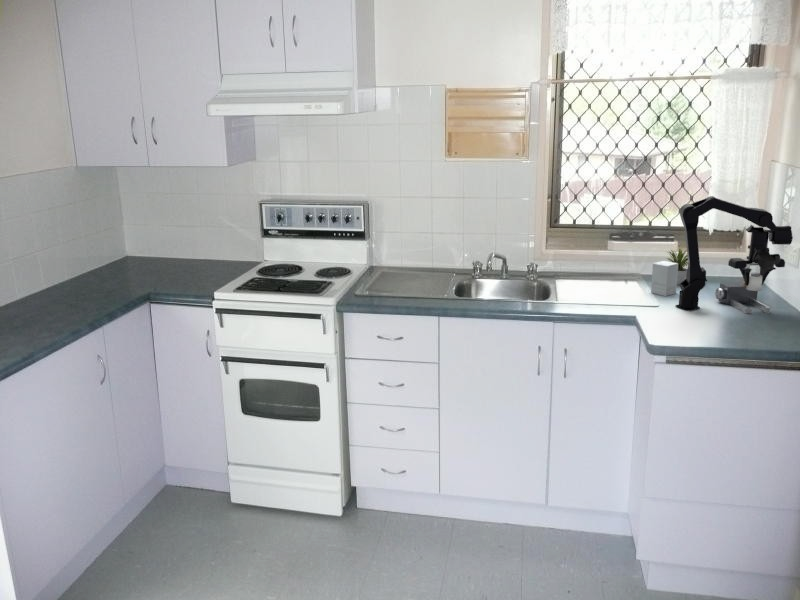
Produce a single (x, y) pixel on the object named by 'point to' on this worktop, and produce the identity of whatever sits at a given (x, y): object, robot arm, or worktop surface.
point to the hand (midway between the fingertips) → (753, 285)
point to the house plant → (680, 264)
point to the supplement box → (664, 278)
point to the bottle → (755, 282)
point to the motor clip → (739, 297)
